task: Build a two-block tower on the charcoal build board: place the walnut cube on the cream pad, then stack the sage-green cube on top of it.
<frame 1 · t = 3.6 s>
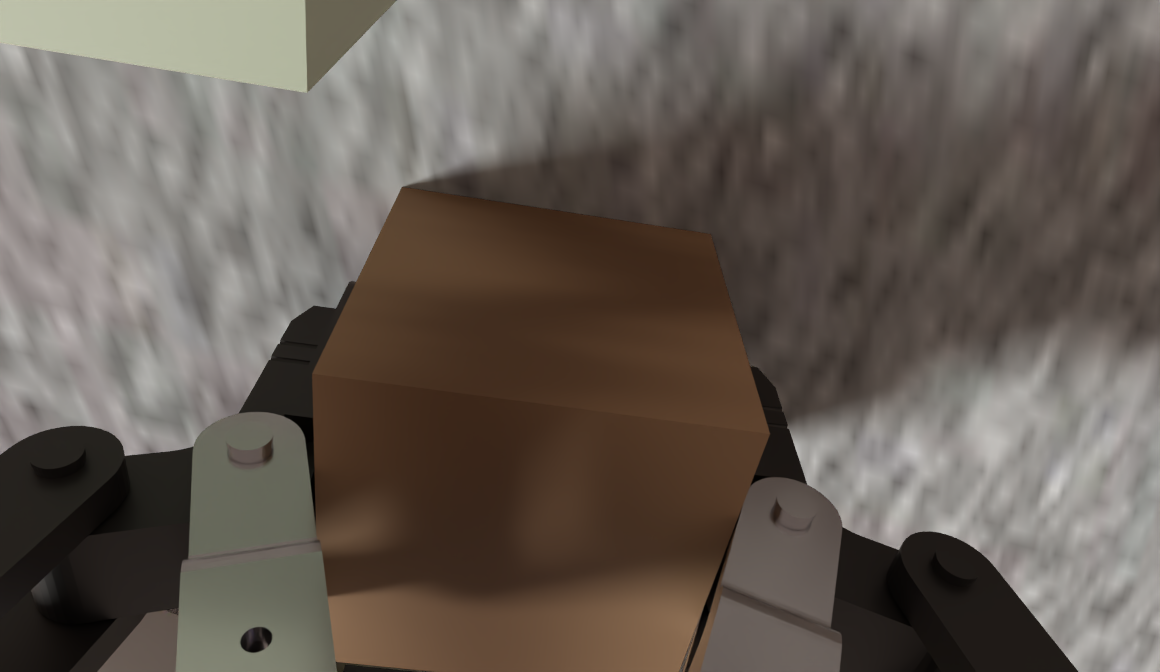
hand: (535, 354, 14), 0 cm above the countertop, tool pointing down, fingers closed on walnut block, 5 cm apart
walnut block: (538, 339, 14), on the countertop, touching gripper
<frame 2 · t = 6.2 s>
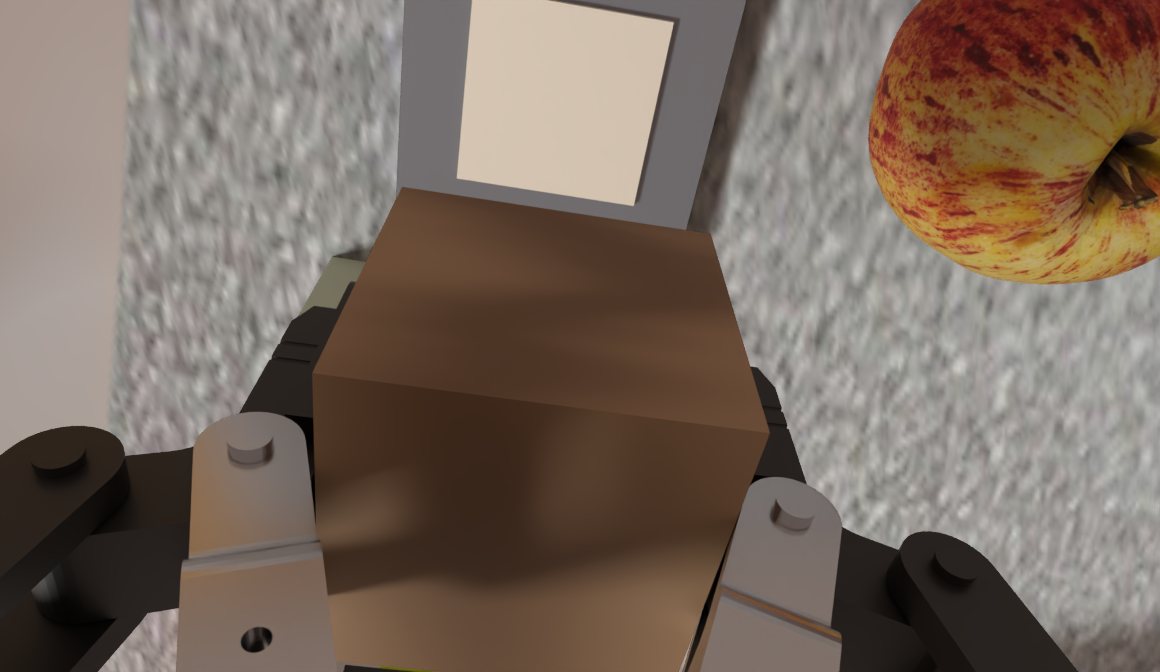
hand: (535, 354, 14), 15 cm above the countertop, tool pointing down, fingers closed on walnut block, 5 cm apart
sage block: (396, 321, 32), on the countertop
walnut block: (538, 338, 14), point 15 cm above the countertop, touching gripper
apple: (968, 64, 26), on the countertop
build board: (560, 91, 26), on the countertop
when the fingers open (3 cm above the countertop, at t = 8.8 s): walnut block stays where it is, resting on build board.
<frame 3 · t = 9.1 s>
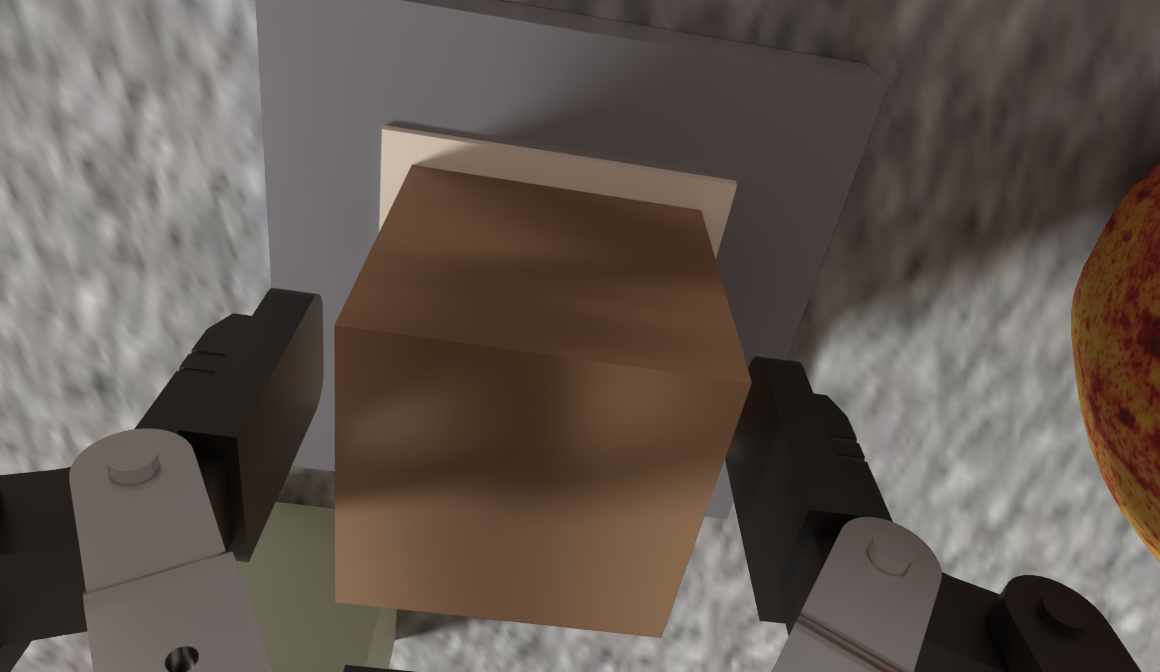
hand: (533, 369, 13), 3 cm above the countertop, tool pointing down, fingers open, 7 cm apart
sage block: (304, 569, 21), on the countertop
walnut block: (538, 310, 15), point 1 cm above the countertop, touching build board
build board: (542, 272, 16), on the countertop
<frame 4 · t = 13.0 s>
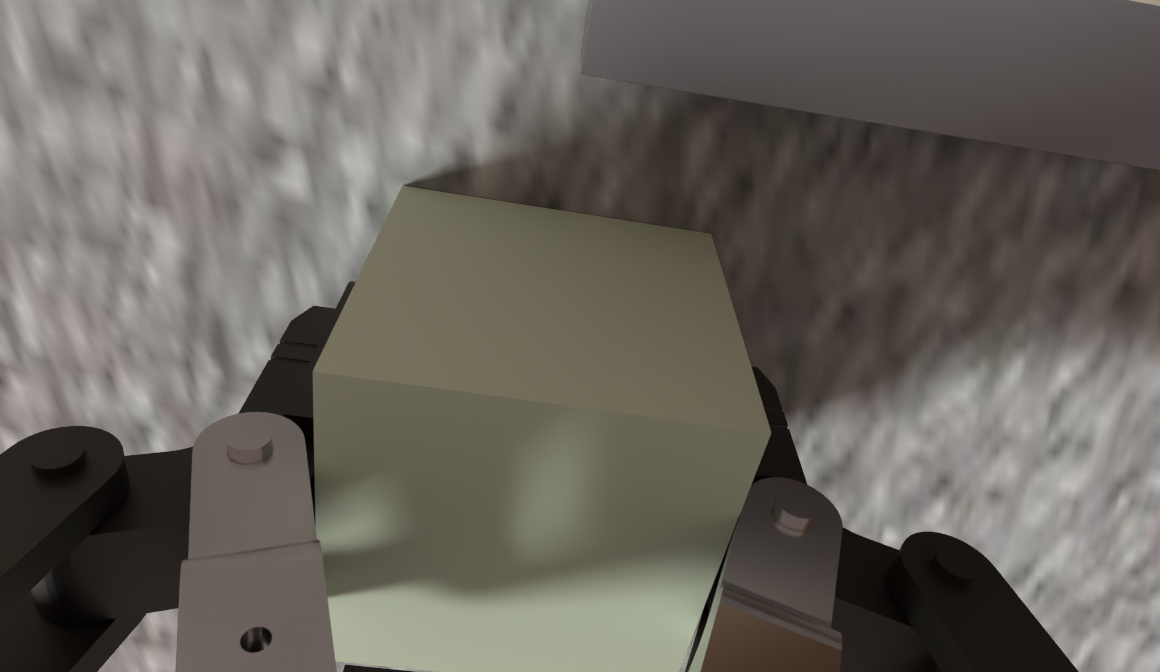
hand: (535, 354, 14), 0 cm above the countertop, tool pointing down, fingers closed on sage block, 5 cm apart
sage block: (538, 338, 14), on the countertop, touching gripper
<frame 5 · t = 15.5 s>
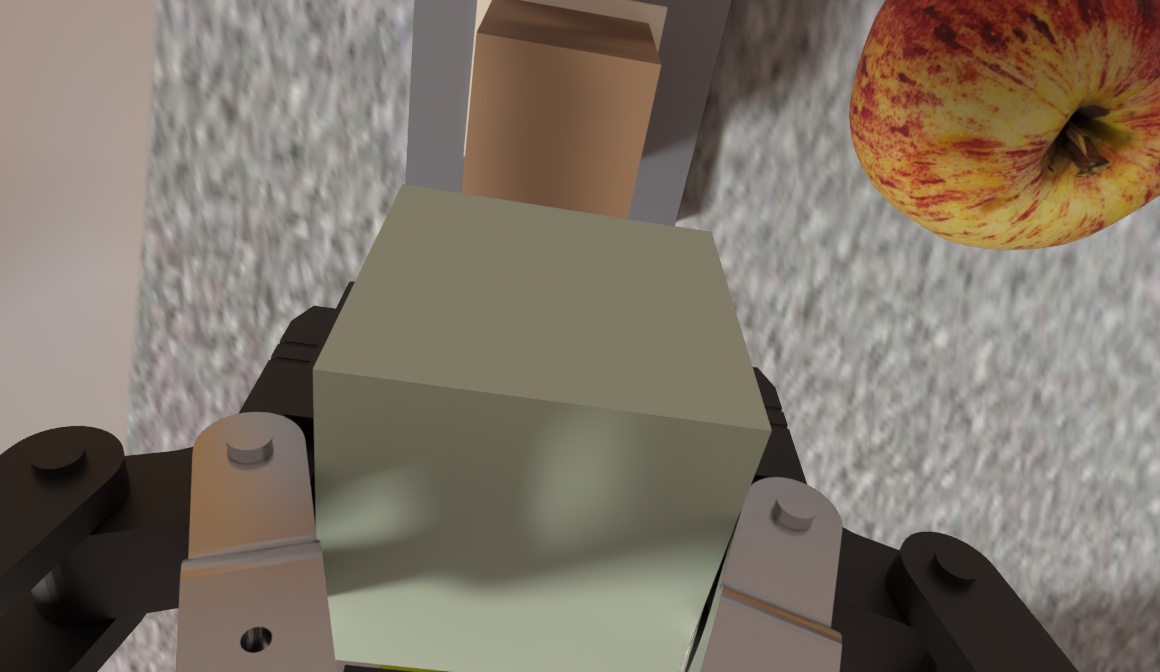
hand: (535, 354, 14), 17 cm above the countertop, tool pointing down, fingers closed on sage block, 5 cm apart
sage block: (538, 337, 14), point 17 cm above the countertop, touching gripper
walnut block: (560, 87, 27), point 1 cm above the countertop, touching build board
puzzle toy: (334, 619, 45), on the countertop
apple: (945, 48, 28), on the countertop
build board: (561, 74, 28), on the countertop
when the fingers open (8 cm above the countertop, at t = 18.0 s): sage block stays where it is, resting on walnut block.
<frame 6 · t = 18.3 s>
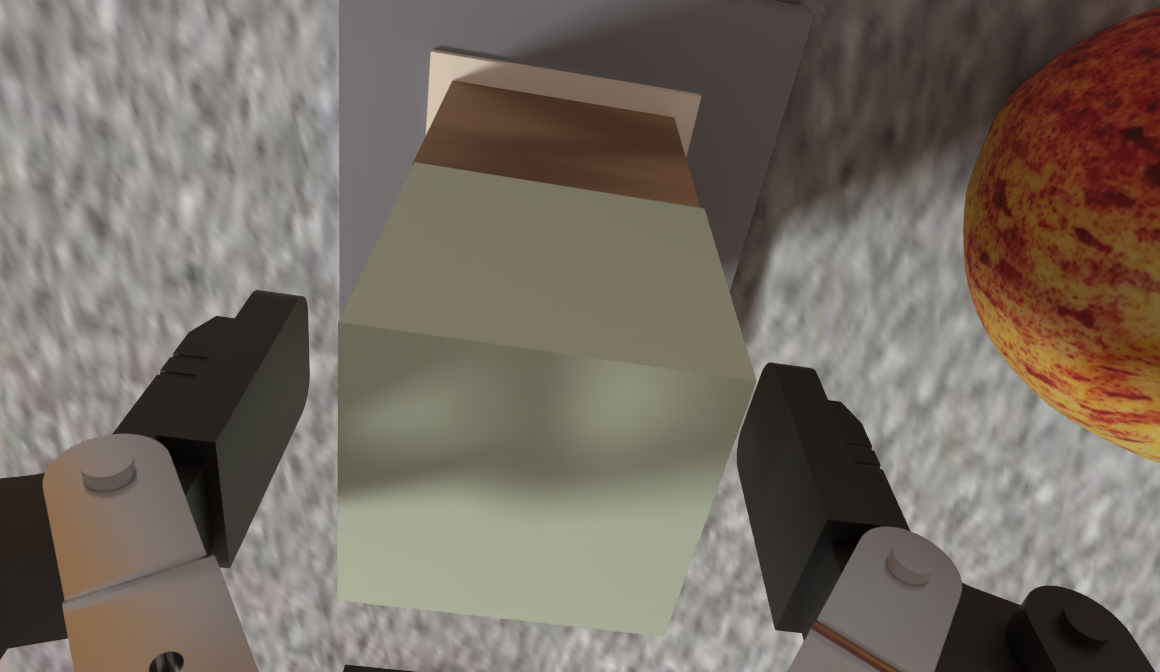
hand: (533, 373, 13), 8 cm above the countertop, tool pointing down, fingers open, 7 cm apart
sage block: (541, 309, 15), point 6 cm above the countertop, touching walnut block
walnut block: (548, 201, 19), point 1 cm above the countertop, touching build board, sage block
apple: (1082, 141, 20), on the countertop
build board: (550, 177, 20), on the countertop
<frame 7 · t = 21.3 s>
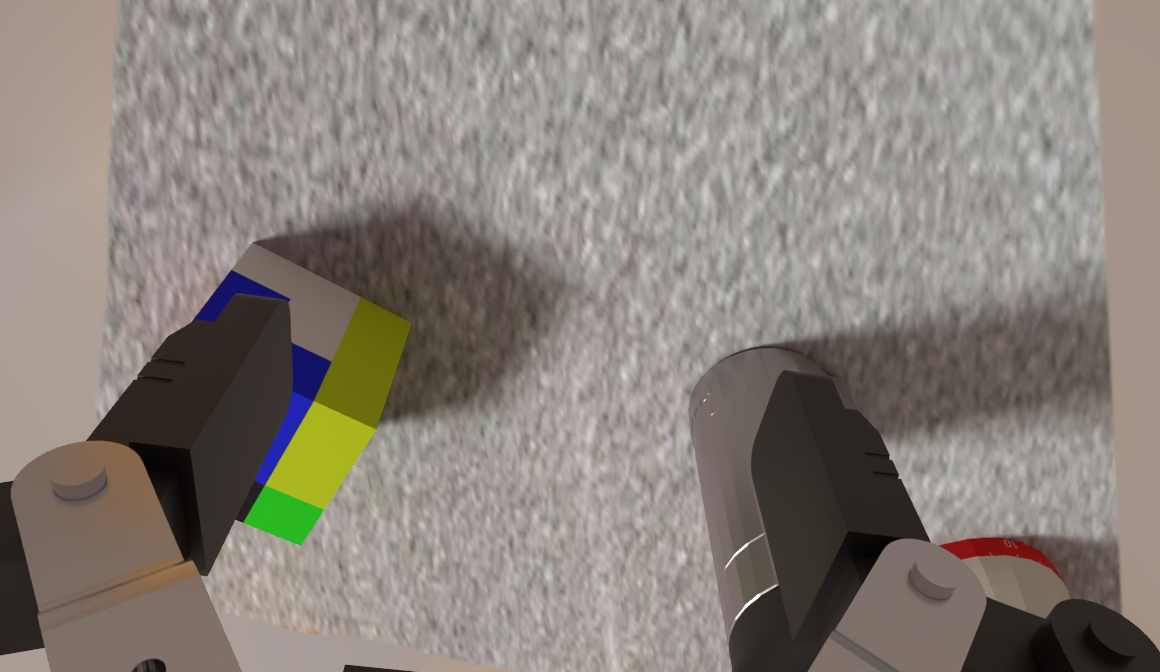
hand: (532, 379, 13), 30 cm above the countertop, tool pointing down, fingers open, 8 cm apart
kitchen timer: (961, 597, 62), on the countertop
puzzle toy: (303, 341, 49), on the countertop
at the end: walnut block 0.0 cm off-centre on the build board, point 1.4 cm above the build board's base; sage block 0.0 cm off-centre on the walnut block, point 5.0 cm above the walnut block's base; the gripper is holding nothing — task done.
